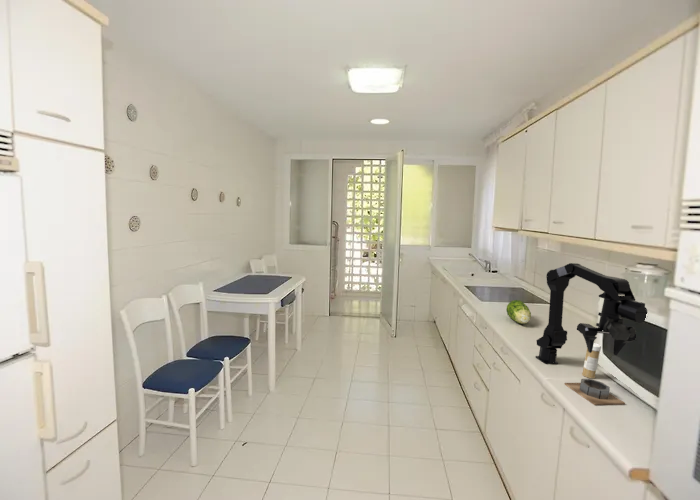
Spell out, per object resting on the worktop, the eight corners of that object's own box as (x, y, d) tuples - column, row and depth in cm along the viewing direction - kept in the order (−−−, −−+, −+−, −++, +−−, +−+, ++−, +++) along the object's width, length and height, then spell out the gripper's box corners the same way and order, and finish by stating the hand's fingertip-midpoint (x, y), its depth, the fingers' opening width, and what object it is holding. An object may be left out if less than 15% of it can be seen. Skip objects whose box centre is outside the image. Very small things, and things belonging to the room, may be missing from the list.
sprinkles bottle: (583, 372, 151) (588, 340, 149) (596, 376, 148) (602, 344, 146) (580, 375, 148) (586, 343, 146) (593, 380, 144) (600, 347, 143)
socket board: (564, 384, 139) (564, 382, 139) (592, 383, 141) (592, 382, 141) (594, 405, 125) (595, 403, 125) (624, 404, 127) (625, 402, 127)
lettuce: (512, 327, 202) (515, 307, 200) (503, 315, 222) (505, 297, 221) (534, 329, 200) (538, 309, 199) (523, 318, 220) (526, 299, 219)
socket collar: (574, 386, 137) (575, 378, 136) (594, 386, 138) (595, 378, 138) (593, 399, 128) (594, 391, 128) (614, 398, 130) (615, 390, 129)
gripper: (599, 318, 125) (590, 361, 128) (654, 323, 125) (644, 366, 128) (579, 307, 136) (572, 347, 139) (631, 312, 136) (622, 352, 139)
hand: (602, 353), depth 136 cm, fingers open, 9 cm apart
